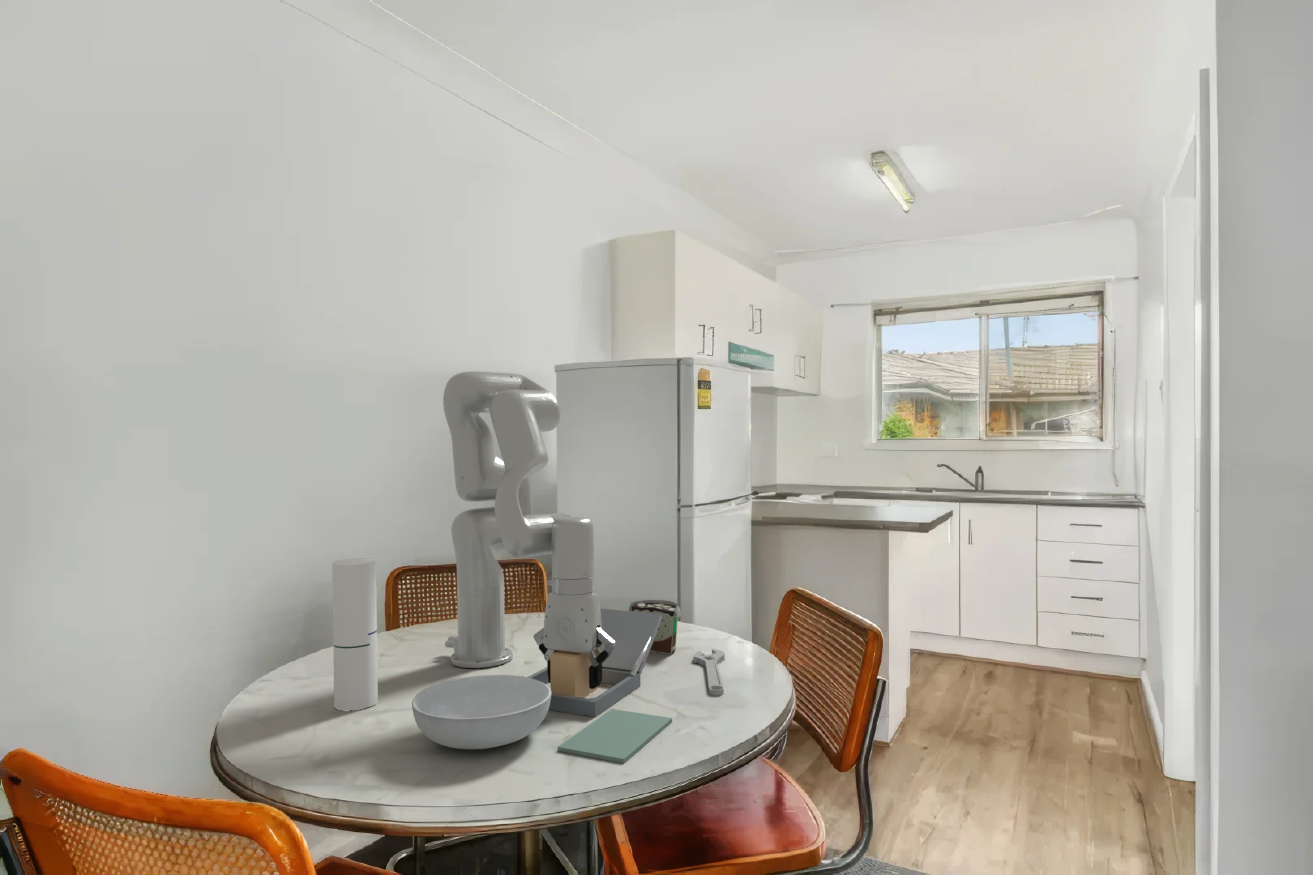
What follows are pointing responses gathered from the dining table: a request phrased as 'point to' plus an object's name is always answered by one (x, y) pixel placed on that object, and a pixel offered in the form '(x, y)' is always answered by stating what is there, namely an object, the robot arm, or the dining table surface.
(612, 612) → the equipment case
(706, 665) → the adjustable wrench
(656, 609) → the food container
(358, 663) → the cylindrical container
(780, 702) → the dining table surface
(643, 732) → the rubber mat
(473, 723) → the serving bowl
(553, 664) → the block
